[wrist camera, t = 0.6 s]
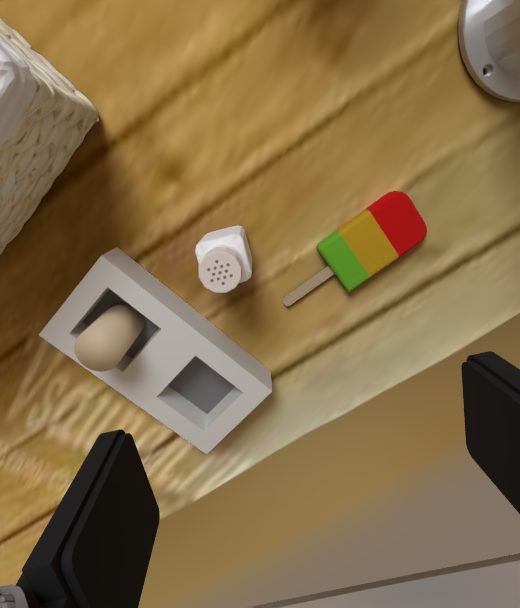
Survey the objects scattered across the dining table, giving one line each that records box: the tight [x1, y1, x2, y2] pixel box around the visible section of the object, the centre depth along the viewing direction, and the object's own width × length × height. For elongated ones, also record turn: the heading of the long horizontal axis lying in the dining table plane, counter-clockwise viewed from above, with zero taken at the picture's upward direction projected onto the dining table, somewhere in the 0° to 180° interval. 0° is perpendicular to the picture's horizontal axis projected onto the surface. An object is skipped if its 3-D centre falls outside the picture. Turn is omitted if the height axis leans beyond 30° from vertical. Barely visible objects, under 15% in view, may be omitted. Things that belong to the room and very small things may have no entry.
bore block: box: [39, 247, 272, 454], centre depth 36 cm, size 10×20×8 cm, turn 48°
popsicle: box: [283, 191, 427, 306], centre depth 37 cm, size 6×15×2 cm, turn 127°
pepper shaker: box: [195, 226, 252, 293], centre depth 32 cm, size 4×4×10 cm
